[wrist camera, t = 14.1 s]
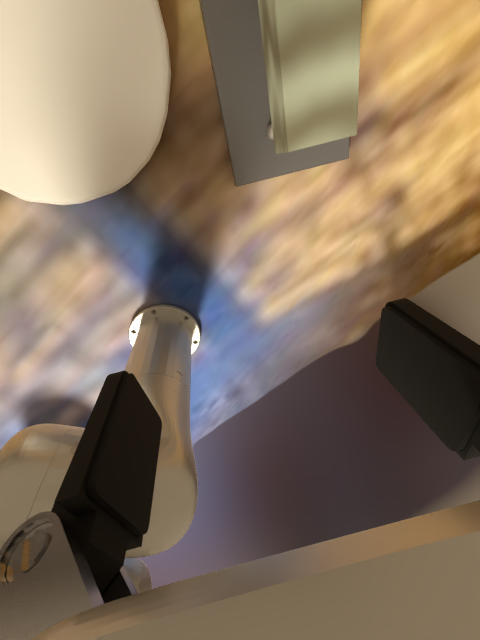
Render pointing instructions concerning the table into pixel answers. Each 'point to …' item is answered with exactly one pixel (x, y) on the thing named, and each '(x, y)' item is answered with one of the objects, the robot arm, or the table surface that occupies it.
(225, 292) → the table surface
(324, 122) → the pale green rectangular block
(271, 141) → the peg stand
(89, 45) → the plate
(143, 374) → the robot arm
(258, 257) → the table surface
